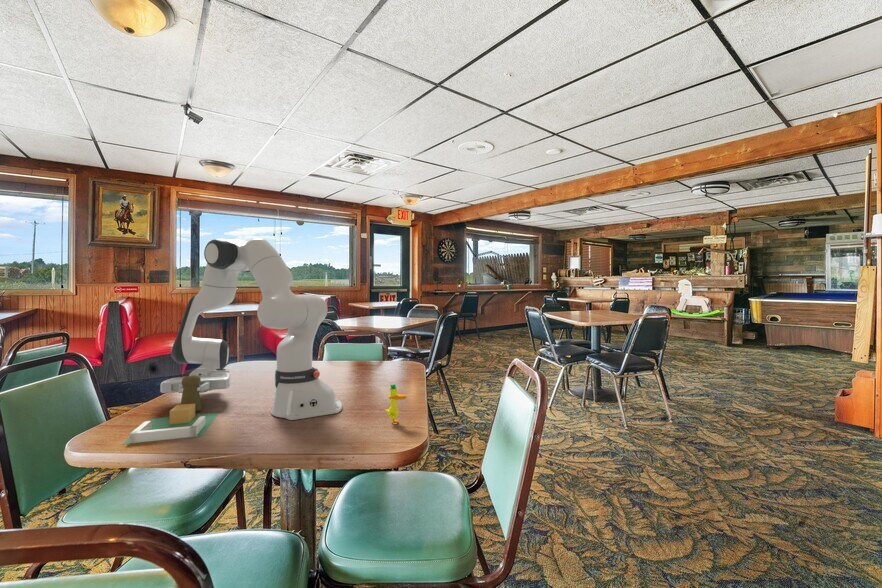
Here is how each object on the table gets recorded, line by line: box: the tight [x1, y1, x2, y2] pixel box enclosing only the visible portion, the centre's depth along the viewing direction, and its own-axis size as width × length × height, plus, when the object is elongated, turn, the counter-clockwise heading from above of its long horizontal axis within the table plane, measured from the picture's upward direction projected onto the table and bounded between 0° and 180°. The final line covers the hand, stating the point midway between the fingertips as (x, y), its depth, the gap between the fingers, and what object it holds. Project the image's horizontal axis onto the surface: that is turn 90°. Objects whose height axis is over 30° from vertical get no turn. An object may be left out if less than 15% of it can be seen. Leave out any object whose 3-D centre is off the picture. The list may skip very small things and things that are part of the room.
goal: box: [128, 416, 206, 444], centre depth 104 cm, size 15×10×2 cm, turn 109°
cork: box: [180, 375, 202, 412], centre depth 122 cm, size 6×6×11 cm
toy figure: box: [384, 383, 408, 424], centre depth 114 cm, size 7×4×12 cm, turn 92°
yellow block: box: [169, 404, 196, 424], centre depth 114 cm, size 5×6×4 cm
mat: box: [121, 412, 220, 446], centre depth 109 cm, size 18×20×1 cm
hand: (190, 389), depth 121 cm, fingers closed on cork, 4 cm apart
